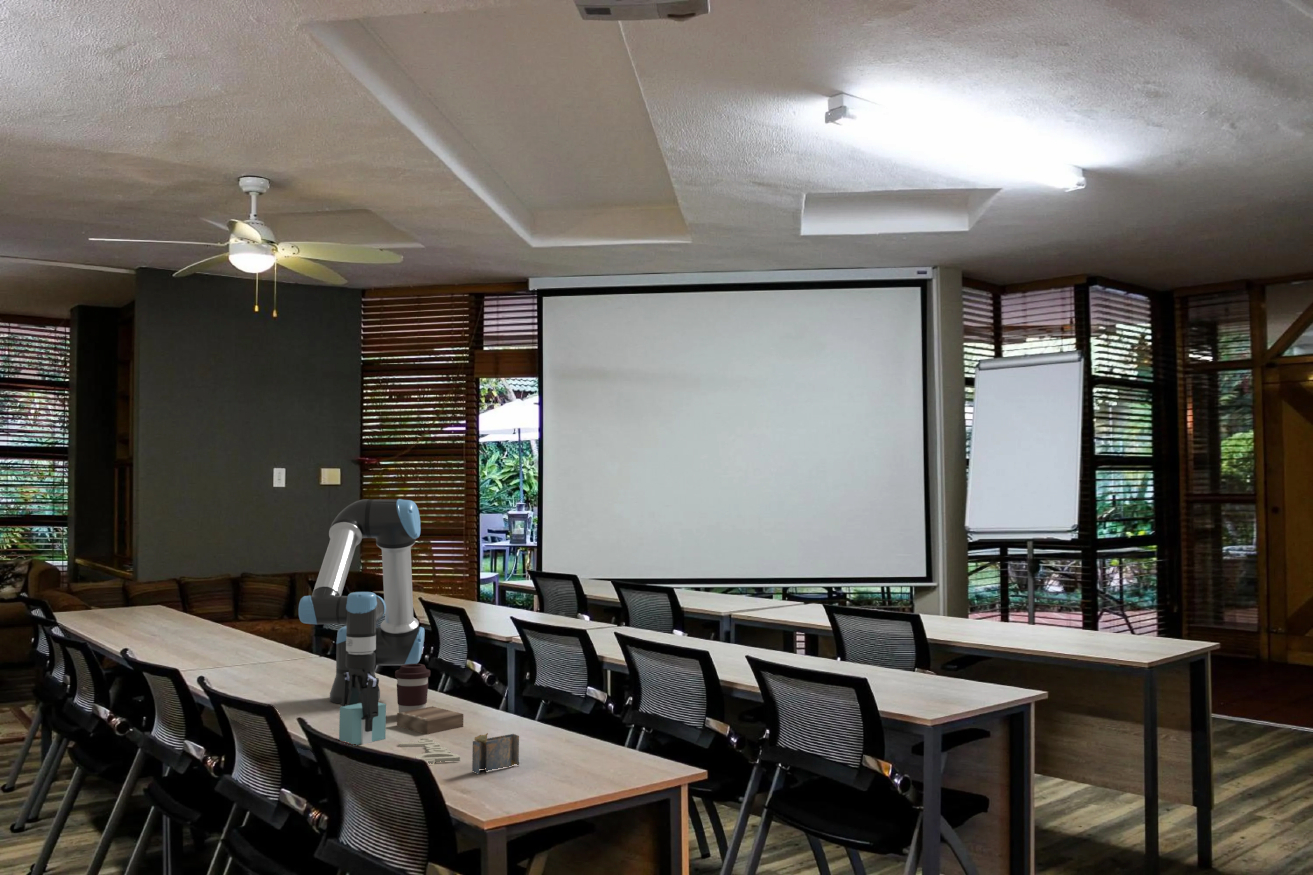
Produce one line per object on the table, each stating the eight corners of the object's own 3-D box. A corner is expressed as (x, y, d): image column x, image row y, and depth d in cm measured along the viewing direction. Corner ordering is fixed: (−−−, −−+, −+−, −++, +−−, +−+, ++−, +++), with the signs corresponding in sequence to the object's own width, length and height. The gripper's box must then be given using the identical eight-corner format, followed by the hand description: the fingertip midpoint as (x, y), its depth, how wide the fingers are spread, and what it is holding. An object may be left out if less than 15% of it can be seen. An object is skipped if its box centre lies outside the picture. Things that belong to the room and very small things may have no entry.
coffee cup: (420, 722, 296) (421, 669, 297) (388, 720, 298) (389, 667, 299) (435, 714, 306) (435, 663, 306) (403, 713, 308) (404, 661, 308)
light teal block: (339, 741, 272) (339, 706, 272) (372, 734, 279) (373, 700, 280) (351, 745, 268) (352, 710, 268) (385, 738, 275) (386, 704, 276)
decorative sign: (461, 756, 256) (421, 761, 251) (461, 763, 256) (421, 768, 251) (432, 736, 276) (394, 740, 271) (432, 742, 276) (394, 746, 271)
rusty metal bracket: (479, 776, 244) (479, 734, 245) (472, 773, 247) (472, 732, 247) (519, 768, 252) (520, 727, 252) (512, 765, 254) (513, 724, 254)
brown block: (396, 727, 290) (397, 712, 290) (432, 720, 299) (432, 705, 299) (427, 736, 280) (427, 719, 281) (463, 728, 289) (463, 712, 290)
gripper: (328, 649, 277) (326, 737, 276) (368, 658, 265) (367, 750, 264) (353, 646, 283) (351, 732, 282) (394, 654, 270) (392, 745, 269)
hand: (359, 741), depth 273 cm, fingers closed on light teal block, 6 cm apart
